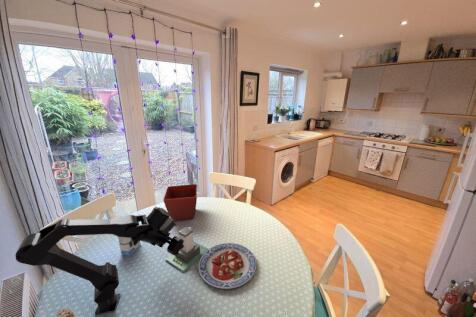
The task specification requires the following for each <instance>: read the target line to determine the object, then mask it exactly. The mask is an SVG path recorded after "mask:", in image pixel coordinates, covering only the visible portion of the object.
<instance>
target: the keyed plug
mask: <svg viewBox="0 0 476 317" xmlns="http://www.w3.org/2000/svg"><path fill="white" fill-rule="evenodd" d="M177 234H178V237H179V238H181V239H183V240H184V243H183V245H184V247H183V249H181V251H182V252H184V253H186V254H187V253H189V252H190V251H191V250H192V249H194V244H193V241H194V232H193V229H192V227H191V226H188V227H187V226H185V227H183V228H182V229H180V230H179V231H178V233H177Z"/></svg>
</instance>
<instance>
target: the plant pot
mask: <svg viewBox="0 0 476 317" xmlns="http://www.w3.org/2000/svg"><path fill="white" fill-rule="evenodd" d="M197 197H198V184H197V183H196V184H193V183H192V184H191V183H190V184H180V185H169V186H167V188H166V191H165V194H164V196H163V199H162V200H163V203H164V206H165V208H166V211H167V212H168V213H169V214H170V218H172V219H173V220H174V222H176V221H177V222H178V221H184V220H185V221H187V220H193V219H194V217H195V215H196V214H195V213H196V209H197V201H198V200H197V199H198V198H197Z"/></svg>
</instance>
